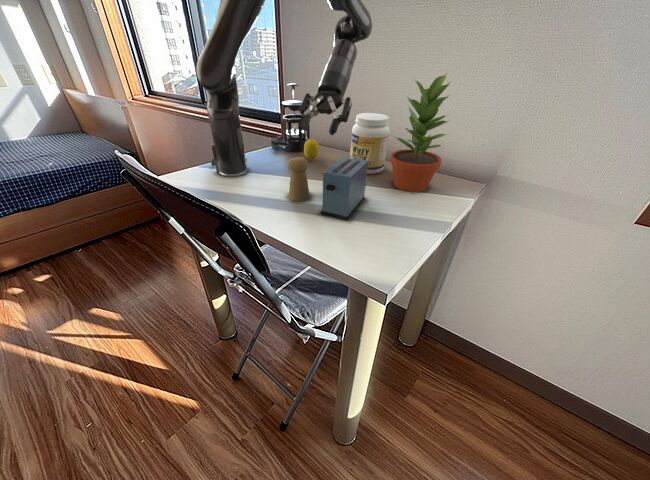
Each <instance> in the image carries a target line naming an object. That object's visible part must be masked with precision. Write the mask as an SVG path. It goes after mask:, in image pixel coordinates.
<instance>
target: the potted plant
mask: <svg viewBox="0 0 650 480" xmlns="http://www.w3.org/2000/svg"><path fill="white" fill-rule="evenodd" d="M447 74H448V72H445V73H444V75H440V76H437V77H436V78H435V79H434V80H433V81H432V83H431V84H430V86H429V87H428V88H425V87H424V86H423V85H422V84H421V82H420V81H418V80H416V79H414V81H415V83H416V86H417V87H418V90H419V92H420V94H421V95H420V101H418V100H416V99H412V98H410V97H408V96H406V98H407V99H408V102H409V103H410V105H411V106H412V107H413V109H414V110H415V112H416V113H417V114H418V116H417V115H416V113H415V112H414V111H413V110H412V108H411V107H410V105H407V107H408V111H409V113H410V116H409V117H408V119H409V122H410V125H411V127H412V129H409V128H407V127H404V129H405V130H406V131H407V132H408V133H410V134H411V140H410V139H406V140H405V139H403V138H401V137H395V136H394V138H395V139H396V140H397V141H399V142H400V143H402V145H404V146H406V147H407V148H409V149H398V150H396V151H393V152H392V153H391V156H390V164H391V167H392V169H391V170H392V181H393V186H394V187H395V188H396V189H398V190H400V191H404V192H409V193H420V192H424V191H426V190H427V189H428V187H429V185H430V183H431V181H432V179H433V177H434V176H435V174H436V173H437V171H438V170H439V169H440V168H441V165H442V161H443V160H442V157H441V156H440V155H438V154H436V153H434V152H430V151H427V150H428V149H435V148H439V147H442V145H441V144H433V145H432V141H433V140H435V139H439V138H441V137H444V136H449V133H447V134H445V133H438V134H434V135H432V134H430V135H428V136H426V135H427V133H428V131H431V130H433V129H436V128H437V127H439V126H442V125H444V124H447V123H449V122H451V121H452V120H451V119H450V120H443V119H445V118H447V117H448V116H449V114H447V115H441V116H438V117H436V115H437V114H438V112H439V107H440V106H441V105H442V104H443V102H444V101H445V100H446V99H448V98H449V95H446V96H442V97H440V96H441V95H442V93H444V91H445V90H446V89H447V88H448V87H449V86H450V83H451V81H449V82H448V83H446V84H443V83H444V82H445V80H446V79H447ZM409 142H410V143H409ZM411 143H412V144H411Z"/></svg>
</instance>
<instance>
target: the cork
mask: <svg viewBox="0 0 650 480" xmlns="http://www.w3.org/2000/svg"><path fill="white" fill-rule="evenodd" d="M308 167H309V163H308V161H307V159H306V158H305V157H300V156H295V157H292V158H290V159H289V161H288V169H289V171H290V178H289V191H288V199H289V200H291V201H294V202H304V201H307V200H309V199H310V189H309V182H308V177H307V175H308V174H307V170H308Z"/></svg>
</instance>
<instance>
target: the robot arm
mask: <svg viewBox="0 0 650 480" xmlns="http://www.w3.org/2000/svg"><path fill="white" fill-rule="evenodd" d="M265 2H266V0H220V2H219V4H218V5H219V6H218V9H217V12H216V16H215V20H214V24H213V25H212V26H213V27H212V30H211V32H210V34H209V36H208V39H207V40H206V43H205V45H204V47H203V49H202V51H201V53H200V55H199V57H198V59H197V62H196V66H195V67H196V68H195V71H196V77H197V79H198V82H199V83H200V85H201V86H202V87H203V89H204V90H205V91H206V98H207V99H206V100H207V103H206V113H207V118H208V123H209V127H210V133H211V137H212V142H211V144H210V146H211V150H212V156H213V158H212V160H211V162H210V163H211V167H215V170H216V174H219V175H221V176H223V177H239V176H242V175H245V174H247V172H248V165H247V163H248V159H247V157H246V151H245V143H244V138H243V137H244V136H243V131H242V123H241V116H240V100H239V91H238V90H239V89H238V82H237V74H236V70H235V67H234V66H235V63H236V61H237V57H238V54H239V52H240V49H241V46H242V45H243V42H244V41H245V39H246V37H247V36H248V34H249V33H250V32H251V30H252V28H253V27H254V24H255V23H256V21H257V19H258V18H259V16H260V13H261V12H262V9H263V8H264V5H265ZM327 3H328V4H329V7H330V8H331V10H332V11H334V12H344V13H345V15H342V16H341V17H340V18H338V21H336V23H335V27H334V36H333V48H332V51H331V54H330V56H329V59H328V62H327V63H326V65H325V67H324V70H323V74H322V76H321V79H320V81H319V84H318V86H317V87H318V88H317V93H316V94H315V95H310V93H309V92H306V93H305V95H304V97H303V100H302V101H303V102H302V105H301V107H300V109H299V111H298V112H299V113H300V115H302V117H303V120H302V123H301V127H302V130H303V131H305V132H307V128H308V125H309V126H310V122H311V119H312V118H313V117H316V116H318V115H319V114H321V115H324V114H326V115H331V114H333V117H334V118H332V120H331V124H330V127H329V129H328V133H329V135H330V136H334V135H335V134H336V133H337V132H338V128H339V125H340V124H341V123H347V122H348V120H349V117H350V114H351V109H352V106H353V103H352V99H351V97H350V96H347V97H346V98H344V97H345V94H346V91H347V88H348V85H349V83H350V79H351V76H352V71H353V69H354V66H355V62H356V59H357V56H358V48H357V45H356V43H359V42H361V41H365V40H366V39H368V38H369V37H370V35H371V34H372V31H373V19H372V16H371V13H370V11H369V9H368V8H367V6H366V5H365V3H364V2H363V0H327ZM342 106H343V108H342V112H341V114H339V112H338V109H339V108H340V107H342Z"/></svg>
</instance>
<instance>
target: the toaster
mask: <svg viewBox="0 0 650 480" xmlns="http://www.w3.org/2000/svg"><path fill="white" fill-rule="evenodd" d="M367 167H368V161H367V160H361V159H354V158H350V157H348V156H347V157H346V156H342V157H341V158H340V159H338V160H337V161H336V162H334V163H333V164H332V165H330V166H329V167H328V168H327V169H325V170H324V171H323V172H322V204H321V205H322V208H321V210H320V215H322V216H327V217H330V218H334V219H338V220H343V221H349V220H350V219H351V218H352V216H353V215H354V214H355V213H356V211H358V209H359V208H360V207H361V206H362V205H363V203H364V202H365V200H366V196H365V193H366V192H365V191H366V184H367V175H368V174H367Z"/></svg>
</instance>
